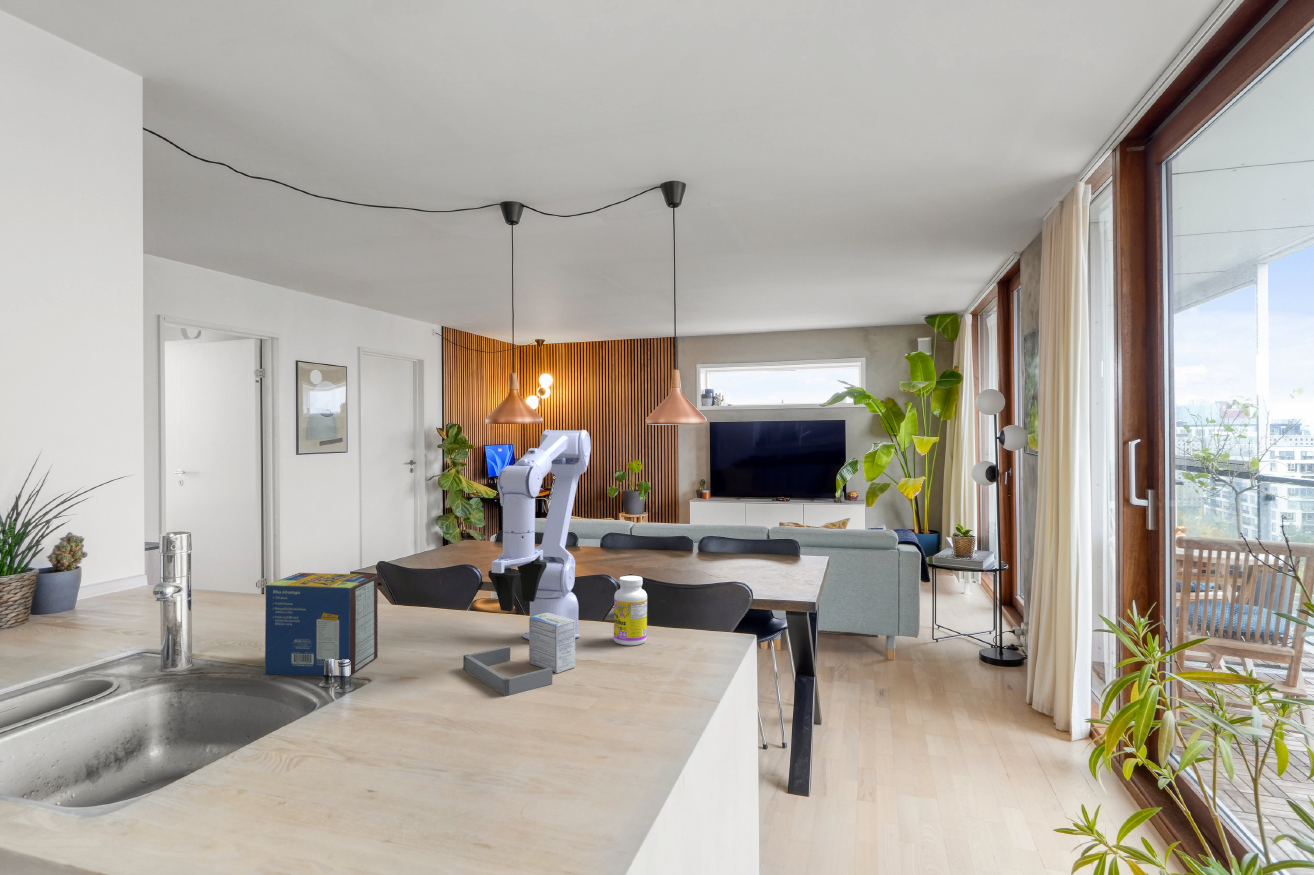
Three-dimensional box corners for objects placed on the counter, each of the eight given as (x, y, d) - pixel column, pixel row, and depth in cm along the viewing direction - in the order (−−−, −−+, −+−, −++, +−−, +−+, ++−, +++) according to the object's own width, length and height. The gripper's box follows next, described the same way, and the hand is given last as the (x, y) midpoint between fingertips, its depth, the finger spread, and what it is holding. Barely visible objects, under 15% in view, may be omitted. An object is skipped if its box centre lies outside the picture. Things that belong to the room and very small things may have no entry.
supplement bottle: (608, 639, 141) (609, 575, 141) (637, 634, 144) (638, 573, 144) (622, 648, 135) (622, 582, 135) (652, 643, 138) (653, 579, 138)
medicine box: (575, 668, 123) (576, 619, 123) (556, 674, 120) (556, 624, 120) (547, 658, 129) (548, 611, 129) (528, 663, 125) (528, 616, 125)
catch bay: (508, 659, 127) (508, 646, 127) (552, 683, 115) (552, 668, 115) (463, 669, 122) (463, 655, 122) (504, 696, 110) (504, 680, 110)
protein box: (298, 655, 129) (298, 572, 129) (378, 657, 128) (379, 573, 128) (262, 674, 118) (263, 584, 118) (350, 677, 118) (350, 586, 117)
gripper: (520, 525, 135) (520, 595, 135) (476, 535, 121) (476, 612, 121) (552, 527, 132) (552, 598, 132) (512, 537, 118) (511, 616, 119)
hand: (518, 605), depth 126 cm, fingers open, 7 cm apart
